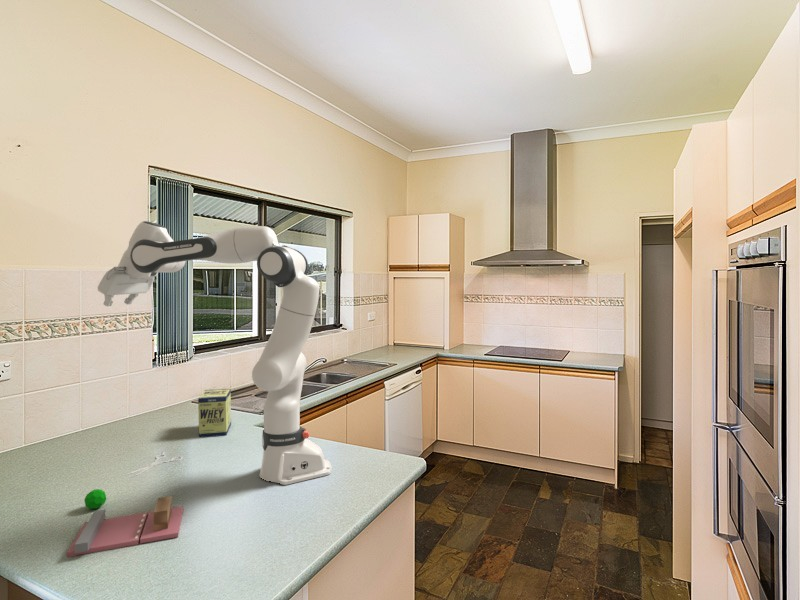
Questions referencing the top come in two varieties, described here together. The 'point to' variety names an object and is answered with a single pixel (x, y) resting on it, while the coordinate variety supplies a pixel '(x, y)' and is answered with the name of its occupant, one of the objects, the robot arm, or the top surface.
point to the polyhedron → (95, 499)
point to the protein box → (214, 412)
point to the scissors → (155, 463)
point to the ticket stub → (162, 521)
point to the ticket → (108, 533)
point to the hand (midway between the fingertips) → (117, 304)
